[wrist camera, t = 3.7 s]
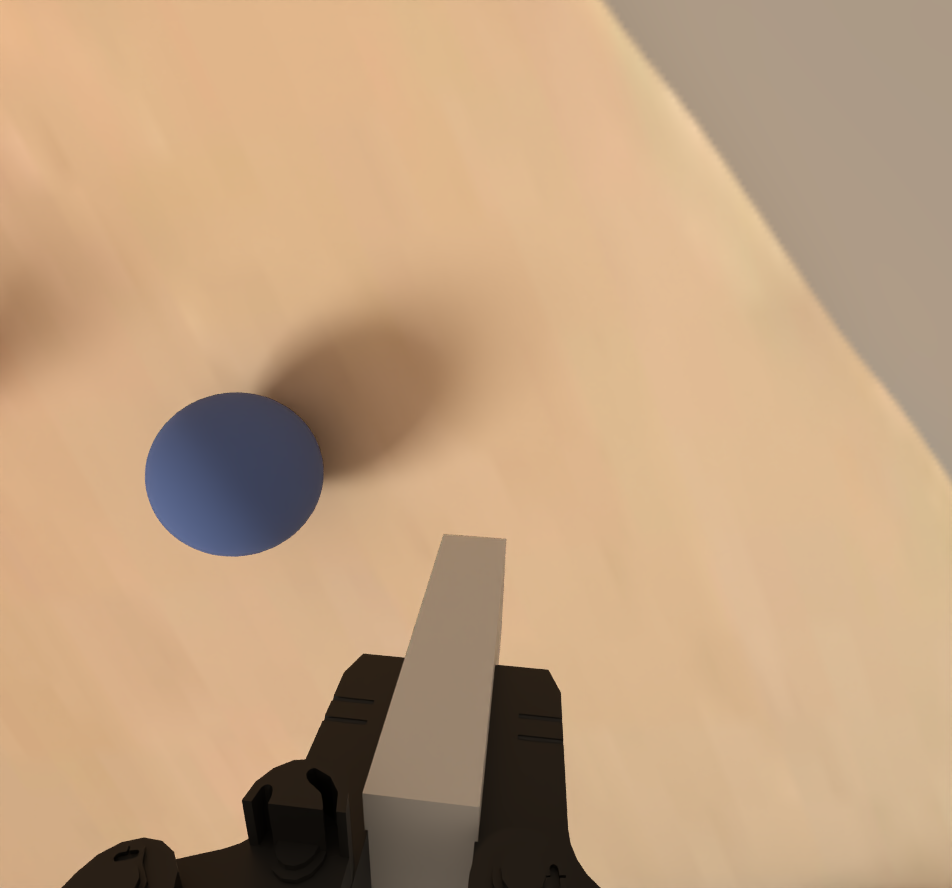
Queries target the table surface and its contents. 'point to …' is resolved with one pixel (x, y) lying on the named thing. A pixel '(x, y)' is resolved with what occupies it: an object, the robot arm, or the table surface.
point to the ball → (234, 474)
